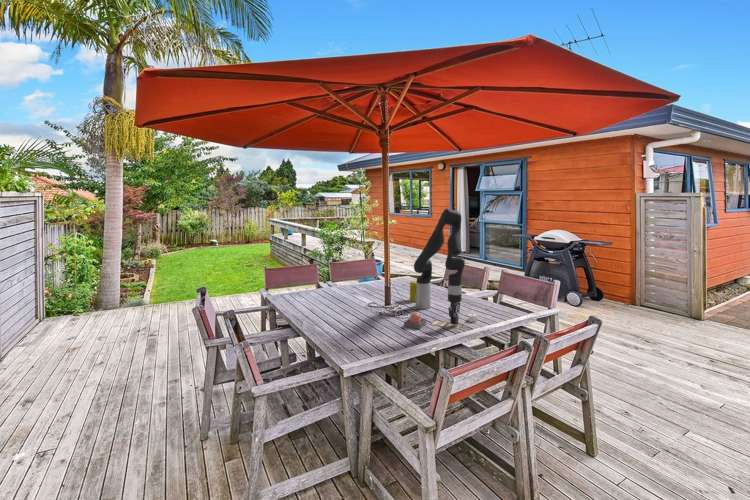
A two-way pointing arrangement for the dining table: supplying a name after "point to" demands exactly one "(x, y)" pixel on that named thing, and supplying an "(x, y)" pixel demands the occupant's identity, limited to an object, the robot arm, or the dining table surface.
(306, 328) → the dining table surface
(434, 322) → the board
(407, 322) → the dome collar
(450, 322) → the pawn
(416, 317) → the dome
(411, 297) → the food
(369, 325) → the dining table surface
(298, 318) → the dining table surface
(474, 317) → the die
